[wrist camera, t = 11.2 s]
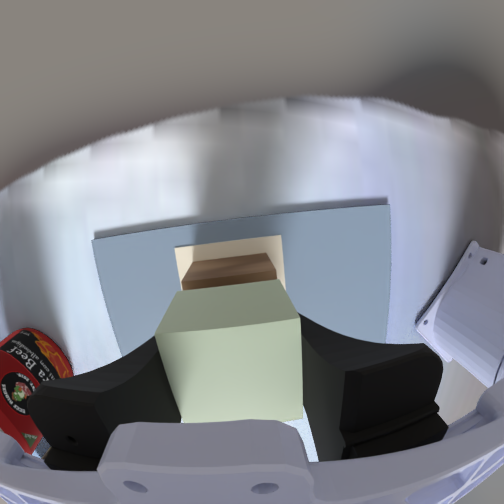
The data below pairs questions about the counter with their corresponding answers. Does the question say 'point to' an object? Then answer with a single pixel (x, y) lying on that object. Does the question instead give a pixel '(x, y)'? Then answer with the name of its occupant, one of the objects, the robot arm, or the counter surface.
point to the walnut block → (229, 271)
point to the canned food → (26, 381)
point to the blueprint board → (254, 242)
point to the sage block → (233, 353)
